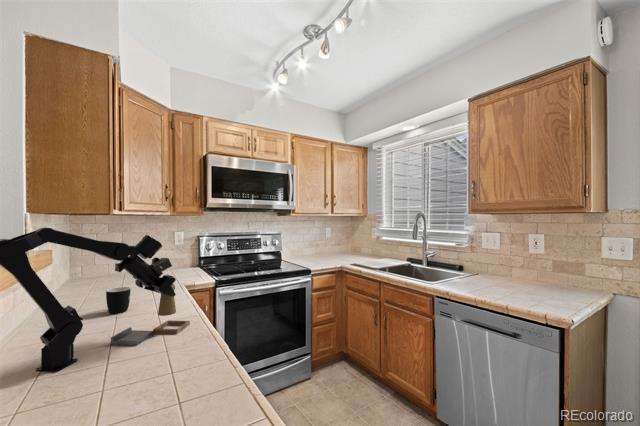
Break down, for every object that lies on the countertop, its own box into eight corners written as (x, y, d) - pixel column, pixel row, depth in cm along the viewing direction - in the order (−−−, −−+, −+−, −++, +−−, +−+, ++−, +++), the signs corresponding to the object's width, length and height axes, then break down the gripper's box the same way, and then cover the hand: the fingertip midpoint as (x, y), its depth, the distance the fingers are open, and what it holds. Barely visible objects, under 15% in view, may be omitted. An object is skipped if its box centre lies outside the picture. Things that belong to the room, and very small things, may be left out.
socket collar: (176, 334, 104) (176, 329, 104) (153, 333, 104) (153, 329, 104) (189, 324, 113) (189, 320, 113) (167, 324, 113) (167, 320, 113)
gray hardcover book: (136, 345, 94) (136, 337, 94) (110, 344, 95) (110, 337, 95) (153, 334, 103) (153, 327, 103) (129, 334, 103) (129, 327, 104)
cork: (168, 316, 103) (168, 285, 104) (153, 315, 105) (154, 284, 105) (179, 311, 109) (180, 282, 110) (165, 310, 111) (166, 281, 111)
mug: (132, 311, 129) (132, 289, 129) (108, 316, 122) (108, 292, 123) (125, 306, 137) (125, 284, 137) (102, 310, 131) (102, 288, 131)
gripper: (170, 253, 99) (199, 279, 108) (144, 249, 110) (173, 274, 118) (145, 279, 92) (178, 305, 101) (120, 273, 103) (152, 297, 112)
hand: (170, 294), depth 108 cm, fingers closed on cork, 5 cm apart
